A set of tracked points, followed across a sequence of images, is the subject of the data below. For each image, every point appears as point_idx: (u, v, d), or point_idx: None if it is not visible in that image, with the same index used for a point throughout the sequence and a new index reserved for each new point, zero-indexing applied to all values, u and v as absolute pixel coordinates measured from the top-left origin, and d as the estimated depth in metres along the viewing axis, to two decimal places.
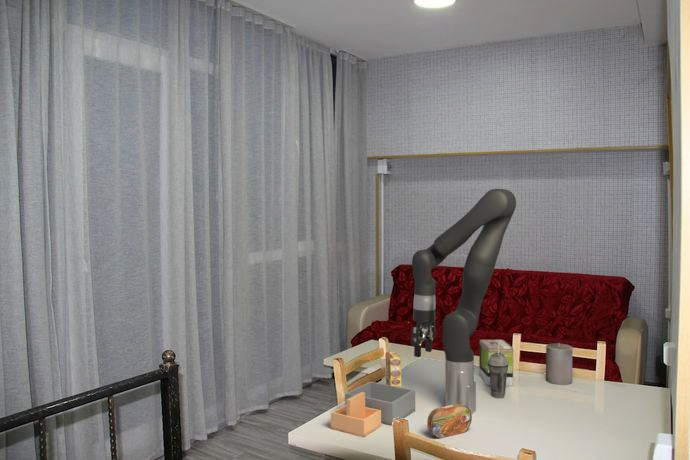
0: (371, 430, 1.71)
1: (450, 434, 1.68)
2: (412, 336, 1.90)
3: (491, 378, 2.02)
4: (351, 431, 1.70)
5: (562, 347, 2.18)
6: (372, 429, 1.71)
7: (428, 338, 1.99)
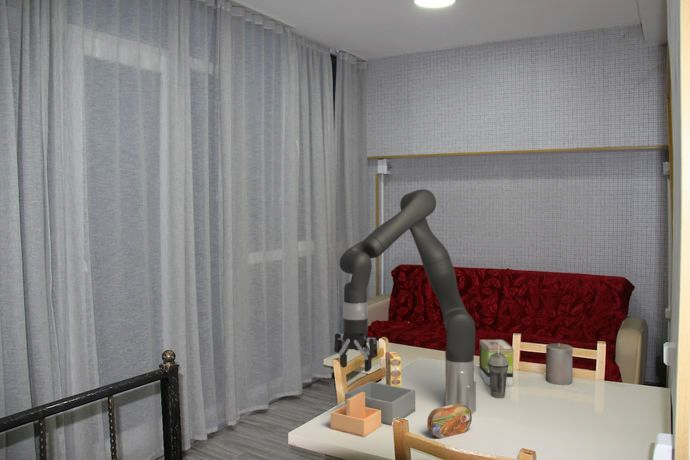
0: (371, 430, 1.71)
1: (450, 434, 1.68)
2: (373, 348, 1.69)
3: (491, 378, 2.02)
4: (351, 431, 1.70)
5: (562, 347, 2.18)
6: (372, 429, 1.71)
7: None
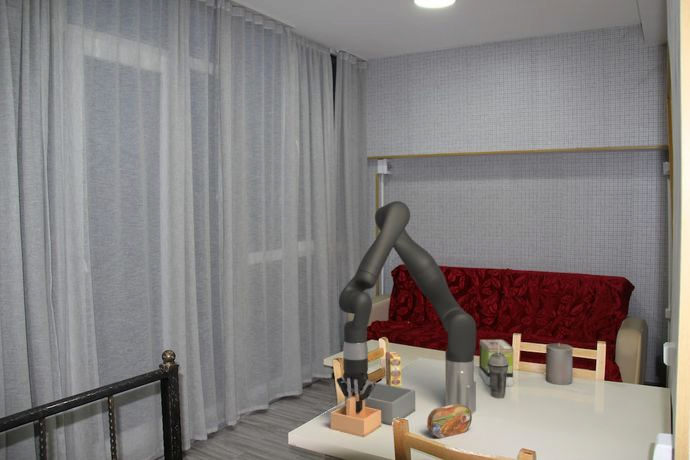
0: (371, 430, 1.71)
1: (450, 434, 1.68)
2: (367, 393, 1.71)
3: (491, 378, 2.02)
4: (351, 431, 1.70)
5: (562, 347, 2.18)
6: (372, 429, 1.71)
7: None
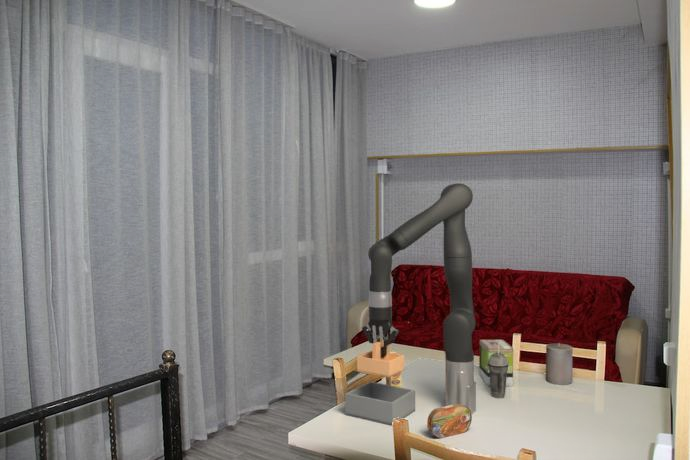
0: (395, 372, 1.83)
1: (450, 434, 1.68)
2: (392, 339, 1.83)
3: (491, 378, 2.02)
4: (376, 373, 1.82)
5: (562, 347, 2.18)
6: (396, 371, 1.83)
7: None
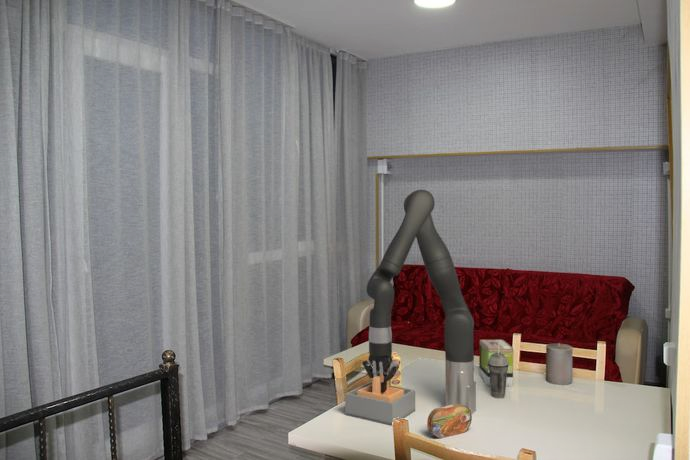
0: None
1: (450, 434, 1.68)
2: (392, 375, 1.83)
3: (491, 378, 2.02)
4: None
5: (562, 347, 2.18)
6: None
7: None
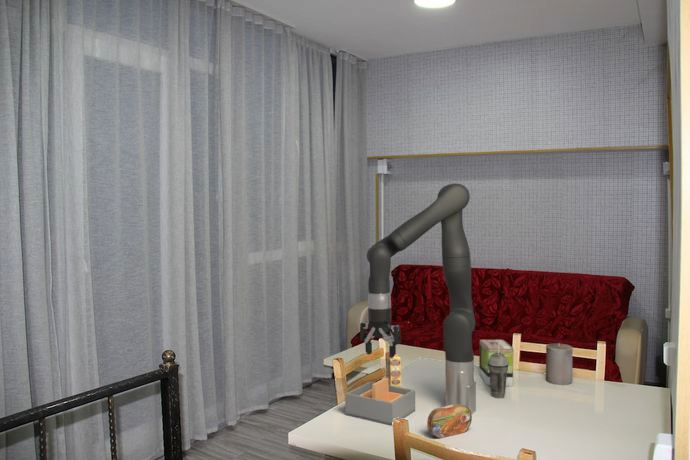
0: None
1: (450, 434, 1.68)
2: (397, 335, 1.82)
3: (491, 378, 2.02)
4: None
5: (562, 347, 2.18)
6: None
7: None
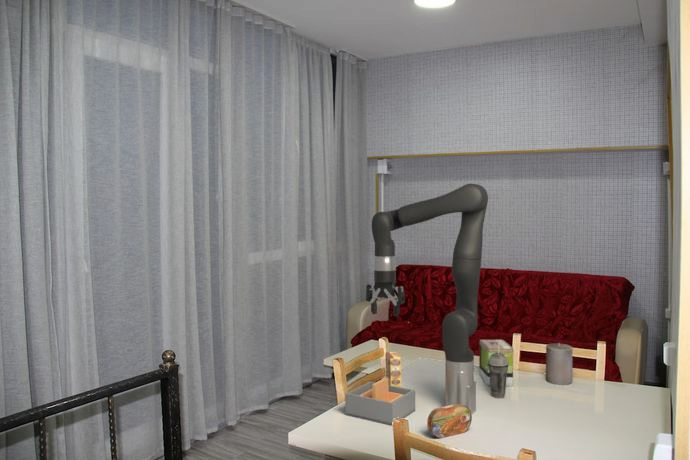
0: None
1: (450, 434, 1.68)
2: (401, 295, 1.94)
3: (491, 378, 2.02)
4: None
5: (562, 347, 2.18)
6: None
7: (374, 300, 2.01)
